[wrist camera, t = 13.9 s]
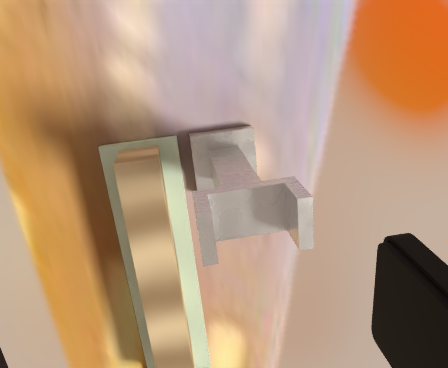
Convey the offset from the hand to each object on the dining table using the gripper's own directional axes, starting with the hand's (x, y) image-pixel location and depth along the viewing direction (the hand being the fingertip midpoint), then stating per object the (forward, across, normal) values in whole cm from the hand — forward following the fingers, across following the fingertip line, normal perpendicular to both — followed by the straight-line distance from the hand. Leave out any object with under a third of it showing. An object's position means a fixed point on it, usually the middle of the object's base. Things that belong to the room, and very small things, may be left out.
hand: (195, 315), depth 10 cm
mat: (+23, +3, +14) cm, 27 cm away
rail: (+22, +3, +14) cm, 26 cm away
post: (+23, -4, +5) cm, 24 cm away
